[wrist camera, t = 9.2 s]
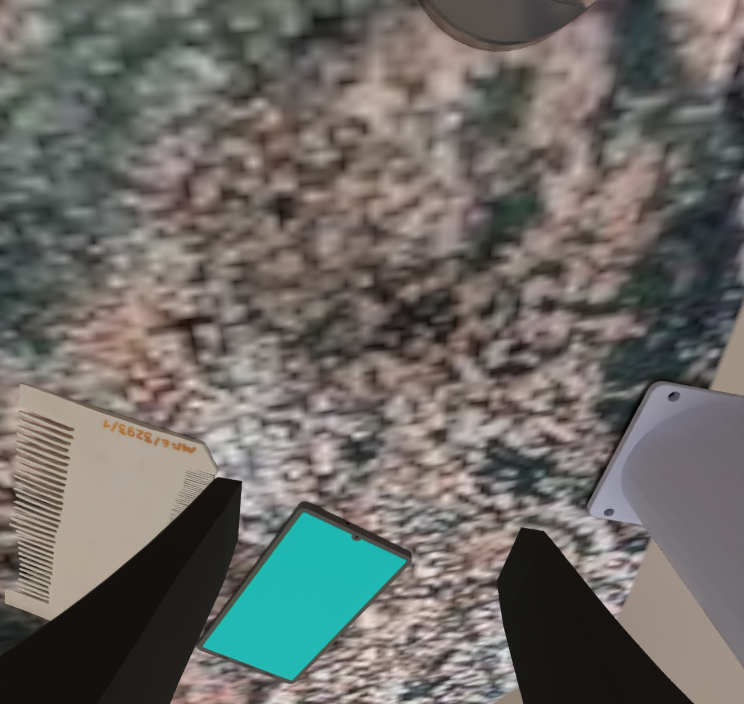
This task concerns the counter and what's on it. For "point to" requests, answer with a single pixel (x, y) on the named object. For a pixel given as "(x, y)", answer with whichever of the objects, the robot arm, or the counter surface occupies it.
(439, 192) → the counter surface
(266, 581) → the smartphone
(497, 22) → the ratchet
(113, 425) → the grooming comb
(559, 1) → the brushed metal cube
